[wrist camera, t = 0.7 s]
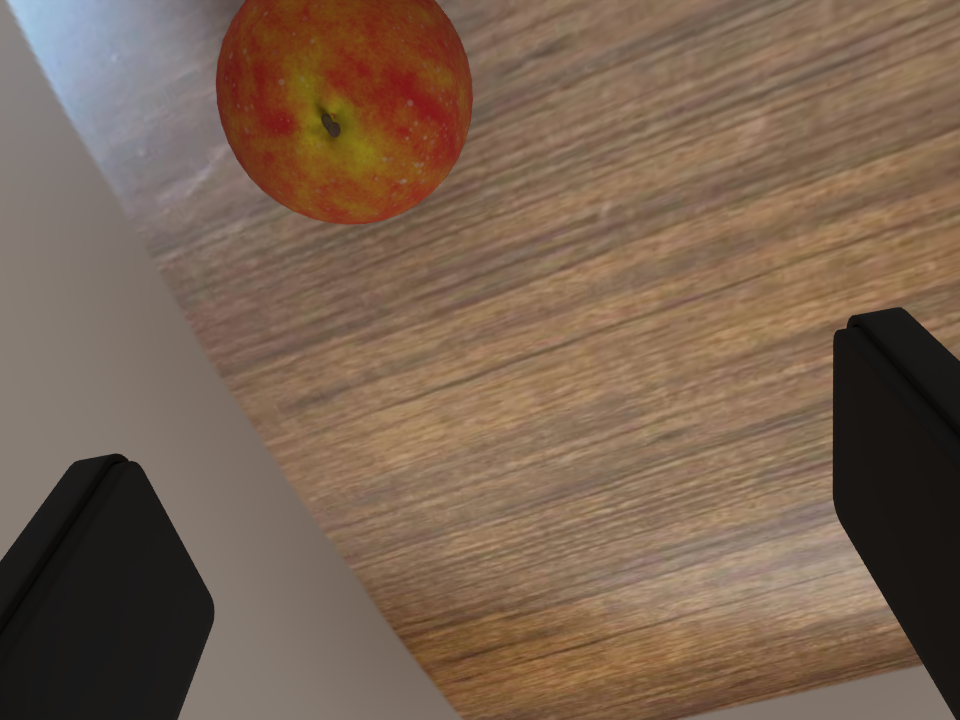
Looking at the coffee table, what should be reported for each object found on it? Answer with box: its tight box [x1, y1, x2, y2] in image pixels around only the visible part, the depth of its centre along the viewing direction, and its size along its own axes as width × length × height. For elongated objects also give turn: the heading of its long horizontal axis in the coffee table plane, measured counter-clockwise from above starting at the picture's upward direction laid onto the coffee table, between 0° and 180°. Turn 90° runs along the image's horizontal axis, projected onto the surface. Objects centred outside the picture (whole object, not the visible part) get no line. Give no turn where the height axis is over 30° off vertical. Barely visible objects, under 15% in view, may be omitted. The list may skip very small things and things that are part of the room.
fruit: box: [216, 0, 473, 224], centre depth 22 cm, size 7×7×8 cm
